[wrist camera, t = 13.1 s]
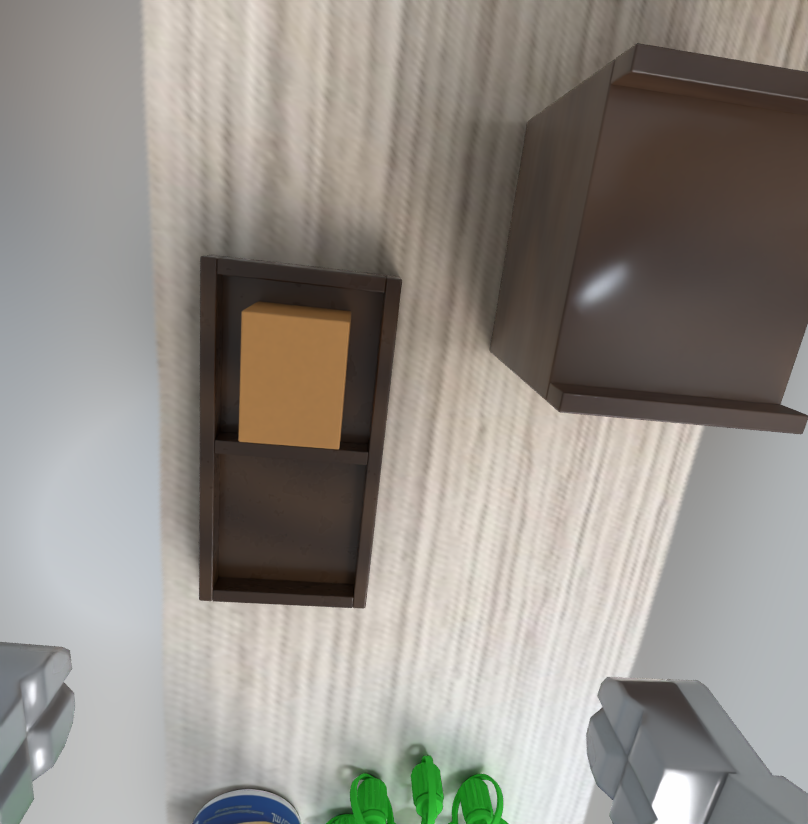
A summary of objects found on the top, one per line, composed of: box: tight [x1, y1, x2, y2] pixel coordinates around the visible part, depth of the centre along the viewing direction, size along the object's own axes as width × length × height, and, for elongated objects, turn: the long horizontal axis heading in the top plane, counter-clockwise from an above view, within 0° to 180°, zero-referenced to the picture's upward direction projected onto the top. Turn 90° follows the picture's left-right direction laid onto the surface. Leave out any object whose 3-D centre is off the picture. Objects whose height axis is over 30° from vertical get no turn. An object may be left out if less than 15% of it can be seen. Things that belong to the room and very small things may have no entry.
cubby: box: [490, 43, 808, 434], centre depth 24 cm, size 12×10×12 cm
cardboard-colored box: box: [238, 301, 351, 449], centre depth 28 cm, size 7×5×4 cm
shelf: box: [199, 255, 402, 608], centre depth 31 cm, size 20×10×2 cm, turn 173°
